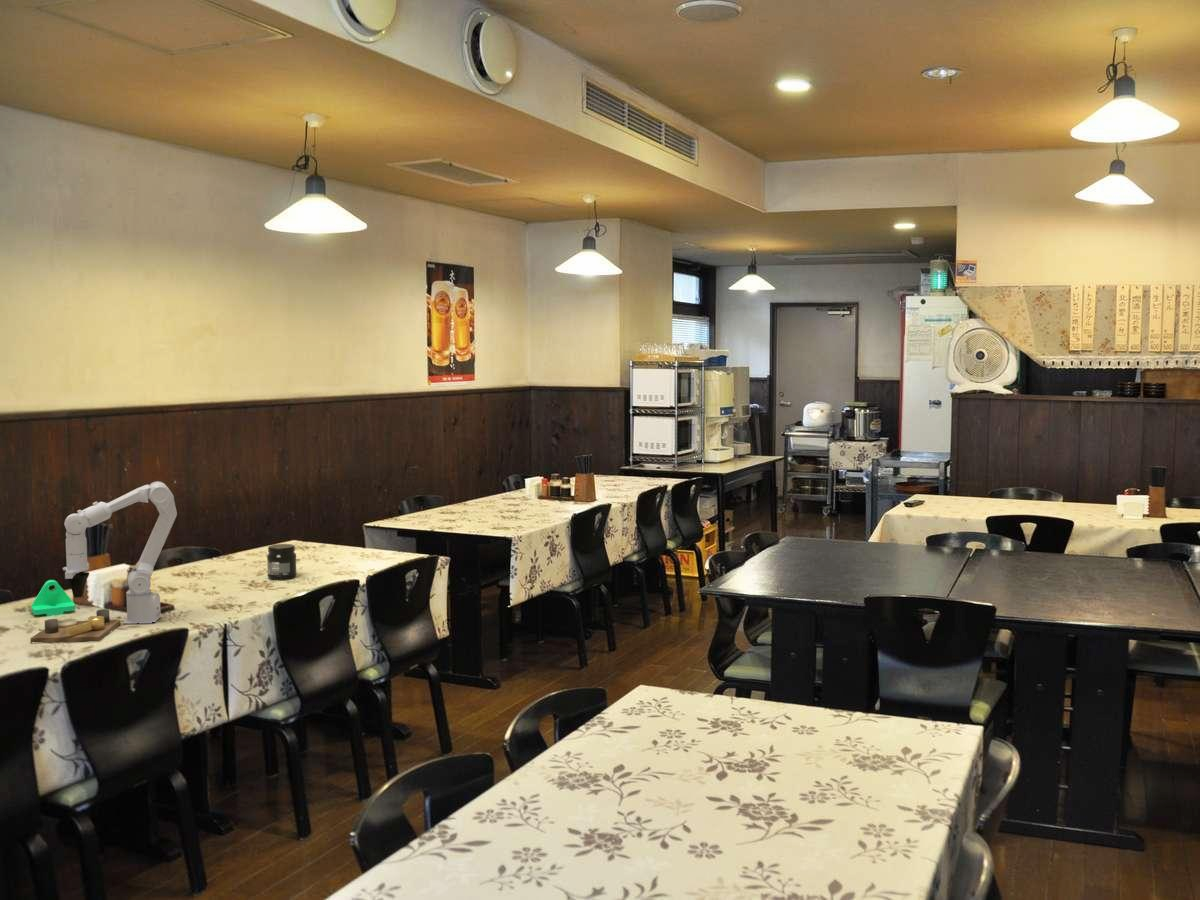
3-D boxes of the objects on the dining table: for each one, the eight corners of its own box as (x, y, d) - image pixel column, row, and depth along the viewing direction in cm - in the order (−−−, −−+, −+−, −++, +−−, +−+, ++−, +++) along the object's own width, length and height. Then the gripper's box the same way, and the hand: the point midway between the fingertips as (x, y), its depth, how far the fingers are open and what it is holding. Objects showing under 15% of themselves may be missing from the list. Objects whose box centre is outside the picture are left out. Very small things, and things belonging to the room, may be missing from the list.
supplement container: (293, 573, 411) (293, 542, 410) (299, 579, 402) (298, 547, 400) (265, 576, 406) (264, 544, 405) (270, 581, 397) (269, 549, 396)
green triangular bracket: (34, 618, 343) (32, 586, 342) (31, 613, 349) (30, 582, 348) (75, 613, 350) (74, 582, 349) (72, 608, 356) (71, 577, 355)
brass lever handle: (97, 625, 327) (96, 615, 326) (107, 627, 325) (107, 617, 325) (62, 635, 316) (62, 624, 315) (73, 637, 314) (72, 626, 314)
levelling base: (120, 624, 335) (119, 608, 335) (99, 641, 316) (98, 624, 316) (56, 626, 333) (55, 610, 333) (30, 643, 314) (29, 626, 313)
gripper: (71, 548, 337) (73, 591, 338) (53, 558, 322) (55, 602, 324) (95, 548, 337) (97, 591, 339) (78, 557, 323) (80, 602, 324)
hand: (78, 597), depth 331 cm, fingers closed
